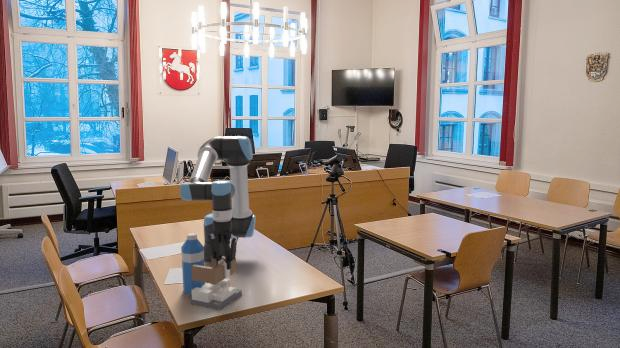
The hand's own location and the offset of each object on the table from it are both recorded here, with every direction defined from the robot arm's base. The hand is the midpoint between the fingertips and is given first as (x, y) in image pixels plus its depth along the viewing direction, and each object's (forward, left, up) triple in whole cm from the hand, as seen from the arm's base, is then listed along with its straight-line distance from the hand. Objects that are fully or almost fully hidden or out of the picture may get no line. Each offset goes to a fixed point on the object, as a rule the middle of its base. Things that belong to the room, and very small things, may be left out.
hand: (224, 276), depth 186 cm
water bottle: (-18, +4, -11) cm, 22 cm away
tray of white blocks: (-4, 0, -14) cm, 15 cm away
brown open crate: (-5, 0, -1) cm, 5 cm away
